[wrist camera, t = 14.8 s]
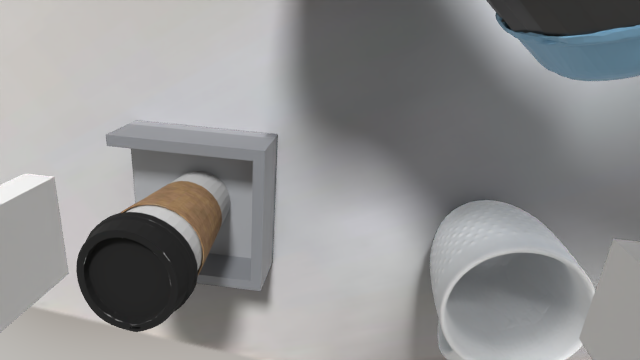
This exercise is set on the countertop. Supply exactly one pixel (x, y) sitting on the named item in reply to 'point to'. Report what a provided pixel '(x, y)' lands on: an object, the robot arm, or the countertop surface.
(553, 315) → the mug
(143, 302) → the coffee cup
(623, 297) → the robot arm
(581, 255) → the countertop surface
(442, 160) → the countertop surface
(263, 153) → the dock
